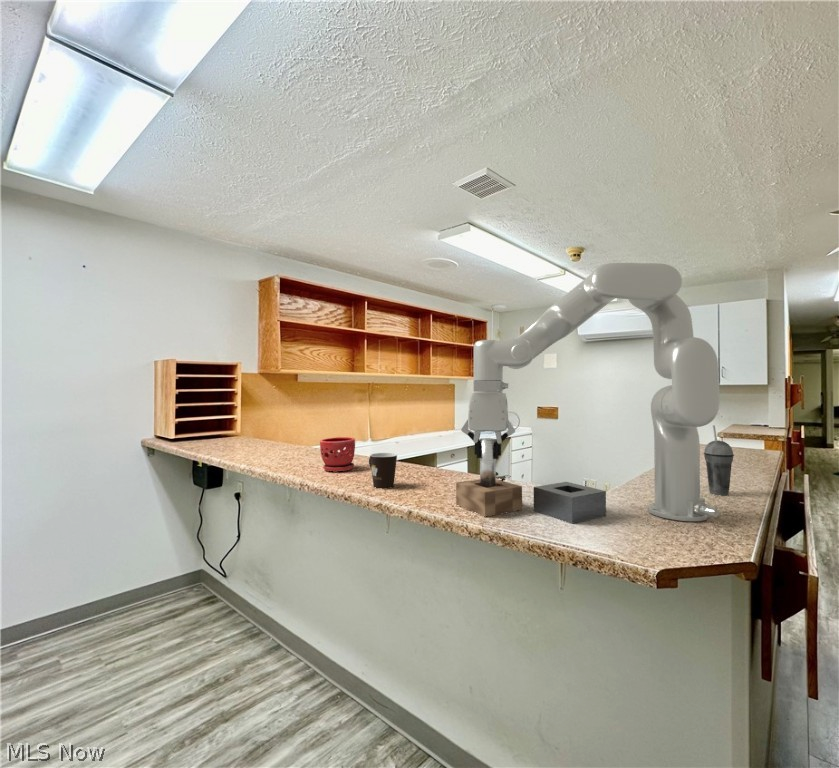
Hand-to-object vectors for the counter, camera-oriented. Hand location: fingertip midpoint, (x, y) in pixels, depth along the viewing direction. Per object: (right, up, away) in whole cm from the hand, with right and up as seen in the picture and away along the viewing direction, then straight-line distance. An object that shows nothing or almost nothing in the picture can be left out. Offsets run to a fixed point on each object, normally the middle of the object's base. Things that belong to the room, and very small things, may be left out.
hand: (487, 457), depth 110 cm
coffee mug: (-30, -14, +25) cm, 41 cm away
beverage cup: (+70, -13, +13) cm, 72 cm away
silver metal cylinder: (0, -7, 0) cm, 7 cm away
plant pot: (-49, -14, +51) cm, 72 cm away
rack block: (0, -13, 0) cm, 13 cm away
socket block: (+19, -13, -5) cm, 24 cm away
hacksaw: (+8, -14, +30) cm, 34 cm away
